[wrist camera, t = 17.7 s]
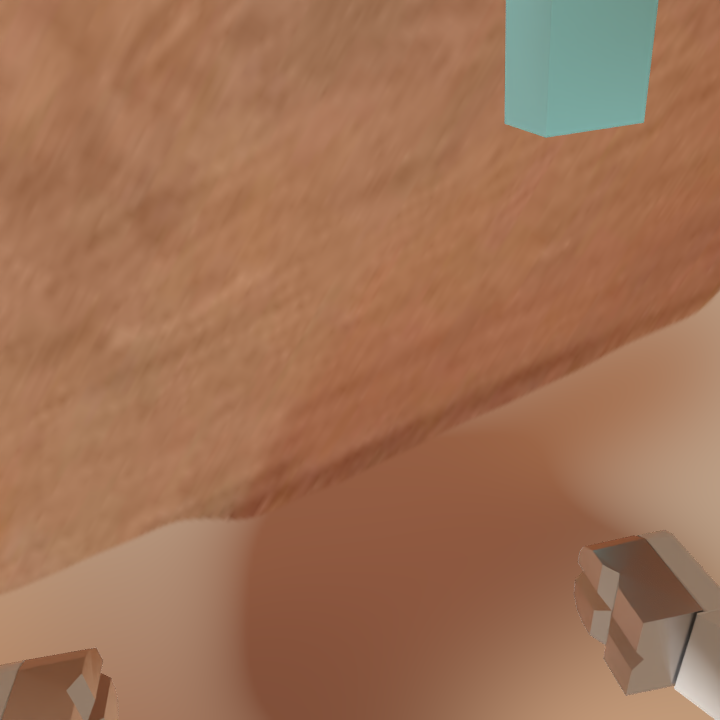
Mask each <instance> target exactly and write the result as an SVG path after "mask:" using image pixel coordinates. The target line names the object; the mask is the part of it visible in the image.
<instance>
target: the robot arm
mask: <svg viewBox="0 0 720 720" xmlns="http://www.w3.org/2000/svg"><path fill="white" fill-rule="evenodd" d="M578 563H579V565H580V566H581V568H582V569H583V572H582V573H581V574H580V575H579V576H578V577H577V579H576V580H575V587H574V597H575V602H576V607H577V610H578V613H579V615H580V618H581V620H582V623H583V624H584V626H585V628H586V630H587V631H588V633H589V635H590V636H592V637H593V638H595V639H597V640H598V641H600V642H602V643H603V644H605V651H604V660H605V662H606V663H607V665H608V667H609V669H610V670H611V672H612V673H613V675H614V677H615V679H616V680H617V682H618V684H619V685H620V687H621V689H622V690H623V692H624V694H625V695H626V696H627V695H631V694H636V693H641V692H646V691H651V690H655V689H660V688H665V687H670V686H675V687H674V689H675V690H677V691H678V692H679V693H681V694H682V695H683V696H685V697H686V698H687V699H689V700H690V701H691V702H693V703H694V704H695V705H696V706H698V707H699V708H701V709H702V710H703V711H704V712H706V713H707V714H708V715H710V716H711V717H712V718H714V719H715V720H720V587H719V586H718V584H717V583H716V582H715V581H714V580H713V579H712V578H711V577H710V576H709V574H708V573H707V572H706V571H705V570H704V569H703V568H702V567H701V565H700V564H699V563H698V562H697V561H696V560H695V559H694V557H693V556H692V555H691V554H690V553H689V552H688V551H687V550H686V548H685V547H684V546H683V545H682V544H681V543H680V542H679V541H678V539H677V538H676V537H675V536H674V535H673V534H672V533H670V532H668V531H666V530H662V531H656V532H652V533H647V534H642V535H638V536H630V537H625V538H620V539H616V540H611V541H607V542H602V543H598V544H594V545H589V546H584V547H583V548H582V550H581V551H580V553H579V559H578ZM102 664H103V659H102V658H101V656H100V654H99V652H98V650H97V648H91V649H85V650H80V651H74V652H68V653H63V654H57V655H52V656H46V657H41V658H35V659H29V660H24V661H19V662H14V663H9V664H3V665H0V720H118V699H117V693H116V688H115V686H114V684H113V682H112V679H111V678H110V677H108V676H106V675H104V674H102V673H101V669H102Z"/></svg>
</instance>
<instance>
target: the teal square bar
mask: <svg viewBox="0 0 720 720" xmlns="http://www.w3.org/2000/svg"><path fill="white" fill-rule="evenodd" d="M657 8H658V0H506V49H505V124H507V125H510V126H513V127H516V128H519V129H522V130H525V131H528V132H531V133H534V134H537V135H540V136H543V137H552V136H559V135H565V134H572V133H578V132H585V131H592V130H598V129H605V128H611V127H618V126H624V125H631V124H638V123H644V117H645V108H646V100H647V92H648V83H649V75H650V67H651V58H652V50H653V41H654V33H655V25H656V16H657Z"/></svg>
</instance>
